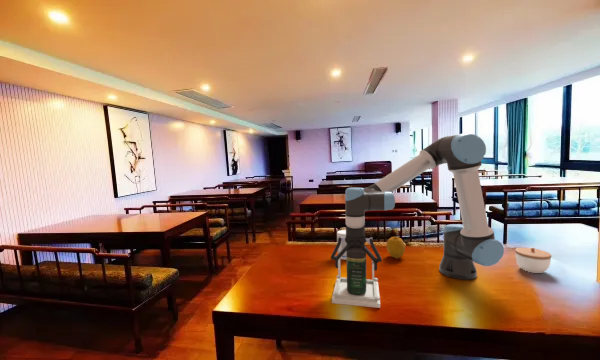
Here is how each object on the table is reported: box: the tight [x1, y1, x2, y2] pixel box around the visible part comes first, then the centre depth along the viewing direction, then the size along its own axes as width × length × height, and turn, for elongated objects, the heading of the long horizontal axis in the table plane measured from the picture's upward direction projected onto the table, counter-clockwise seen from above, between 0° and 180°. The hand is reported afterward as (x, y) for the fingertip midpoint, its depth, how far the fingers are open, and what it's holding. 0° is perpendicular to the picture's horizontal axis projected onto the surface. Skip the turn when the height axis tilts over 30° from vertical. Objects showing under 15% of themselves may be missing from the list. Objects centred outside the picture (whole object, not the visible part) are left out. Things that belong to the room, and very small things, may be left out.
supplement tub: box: [336, 229, 347, 261], centre depth 148 cm, size 10×10×15 cm
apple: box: [386, 236, 406, 260], centre depth 145 cm, size 10×10×12 cm
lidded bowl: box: [514, 247, 552, 274], centre depth 123 cm, size 13×13×11 cm
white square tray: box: [331, 275, 381, 309], centre depth 108 cm, size 18×18×3 cm
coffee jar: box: [346, 247, 367, 295], centre depth 107 cm, size 10×8×19 cm
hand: (356, 276), depth 107 cm, fingers open, 13 cm apart
